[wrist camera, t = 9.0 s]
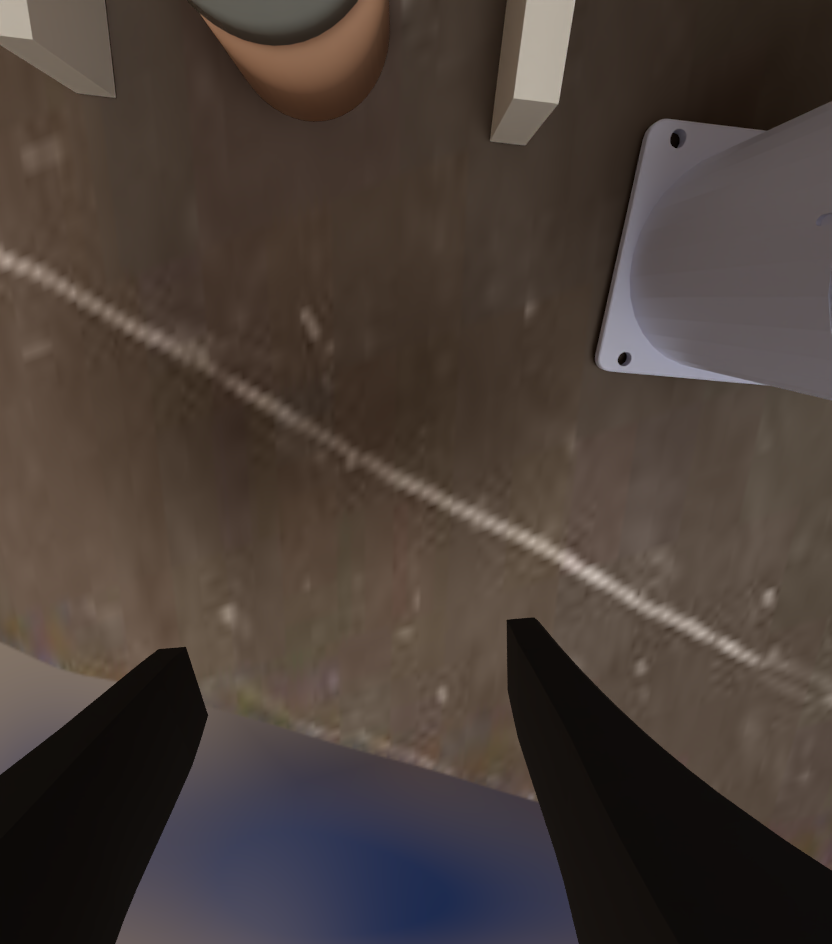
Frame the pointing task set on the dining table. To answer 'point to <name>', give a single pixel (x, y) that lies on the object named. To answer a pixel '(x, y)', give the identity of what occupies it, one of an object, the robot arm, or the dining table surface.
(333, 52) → the terracotta jar
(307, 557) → the dining table surface
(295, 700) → the dining table surface
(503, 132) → the u-frame with teal panels
